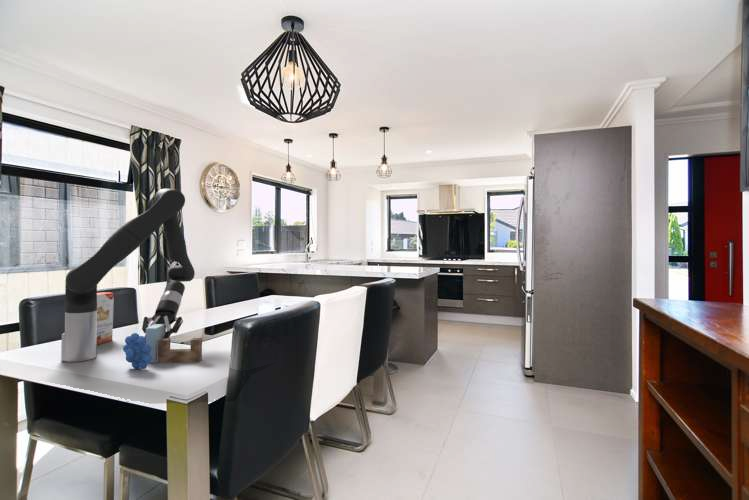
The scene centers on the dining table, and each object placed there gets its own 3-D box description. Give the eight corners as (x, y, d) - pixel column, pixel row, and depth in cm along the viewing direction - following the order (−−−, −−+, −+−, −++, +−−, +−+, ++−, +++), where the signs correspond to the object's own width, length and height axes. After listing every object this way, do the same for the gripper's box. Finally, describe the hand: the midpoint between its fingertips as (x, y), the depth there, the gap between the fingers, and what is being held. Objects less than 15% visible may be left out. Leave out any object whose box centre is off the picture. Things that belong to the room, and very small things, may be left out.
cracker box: (83, 348, 152) (84, 296, 152) (70, 347, 154) (71, 295, 154) (113, 340, 166) (114, 292, 166) (102, 339, 167) (103, 291, 167)
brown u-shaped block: (157, 362, 136) (158, 340, 136) (161, 360, 139) (161, 338, 139) (199, 362, 138) (199, 340, 138) (201, 359, 141) (202, 338, 141)
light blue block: (145, 362, 137) (145, 328, 137) (155, 355, 145) (156, 323, 145) (155, 361, 137) (156, 328, 137) (165, 355, 146) (166, 323, 146)
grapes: (111, 370, 127) (112, 334, 127) (130, 364, 133) (131, 330, 133) (138, 374, 123) (139, 337, 123) (156, 368, 130) (157, 333, 130)
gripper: (147, 298, 149) (131, 336, 137) (186, 299, 151) (173, 336, 139) (152, 310, 155) (137, 347, 143) (190, 310, 156) (178, 347, 145)
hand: (155, 341), depth 141 cm, fingers open, 5 cm apart
